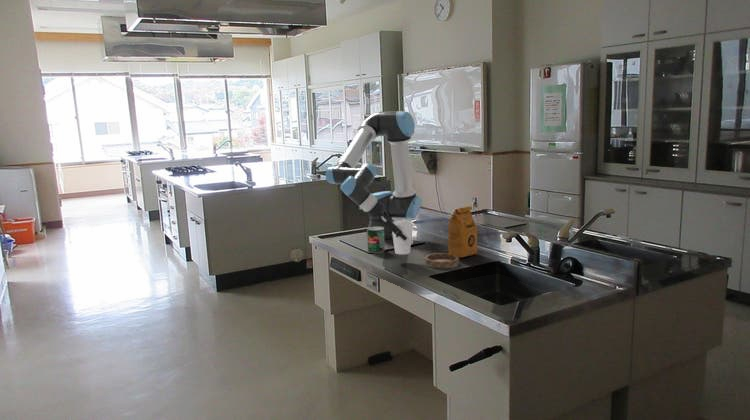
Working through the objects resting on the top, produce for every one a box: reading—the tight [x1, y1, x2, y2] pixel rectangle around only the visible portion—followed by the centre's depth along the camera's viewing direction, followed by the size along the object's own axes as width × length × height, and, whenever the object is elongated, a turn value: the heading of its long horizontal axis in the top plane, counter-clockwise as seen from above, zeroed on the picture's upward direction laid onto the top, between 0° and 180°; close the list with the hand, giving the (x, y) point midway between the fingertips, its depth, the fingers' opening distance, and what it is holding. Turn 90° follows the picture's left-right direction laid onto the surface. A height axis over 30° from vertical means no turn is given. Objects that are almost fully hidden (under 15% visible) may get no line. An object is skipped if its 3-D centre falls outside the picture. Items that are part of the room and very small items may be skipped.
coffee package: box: [447, 205, 478, 258], centre depth 239 cm, size 10×12×22 cm
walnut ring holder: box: [424, 252, 460, 270], centre depth 228 cm, size 14×14×3 cm
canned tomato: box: [366, 226, 385, 254], centre depth 250 cm, size 8×8×11 cm
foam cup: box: [392, 220, 414, 255], centre depth 230 cm, size 10×9×13 cm
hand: (409, 241), depth 231 cm, fingers closed on foam cup, 9 cm apart
